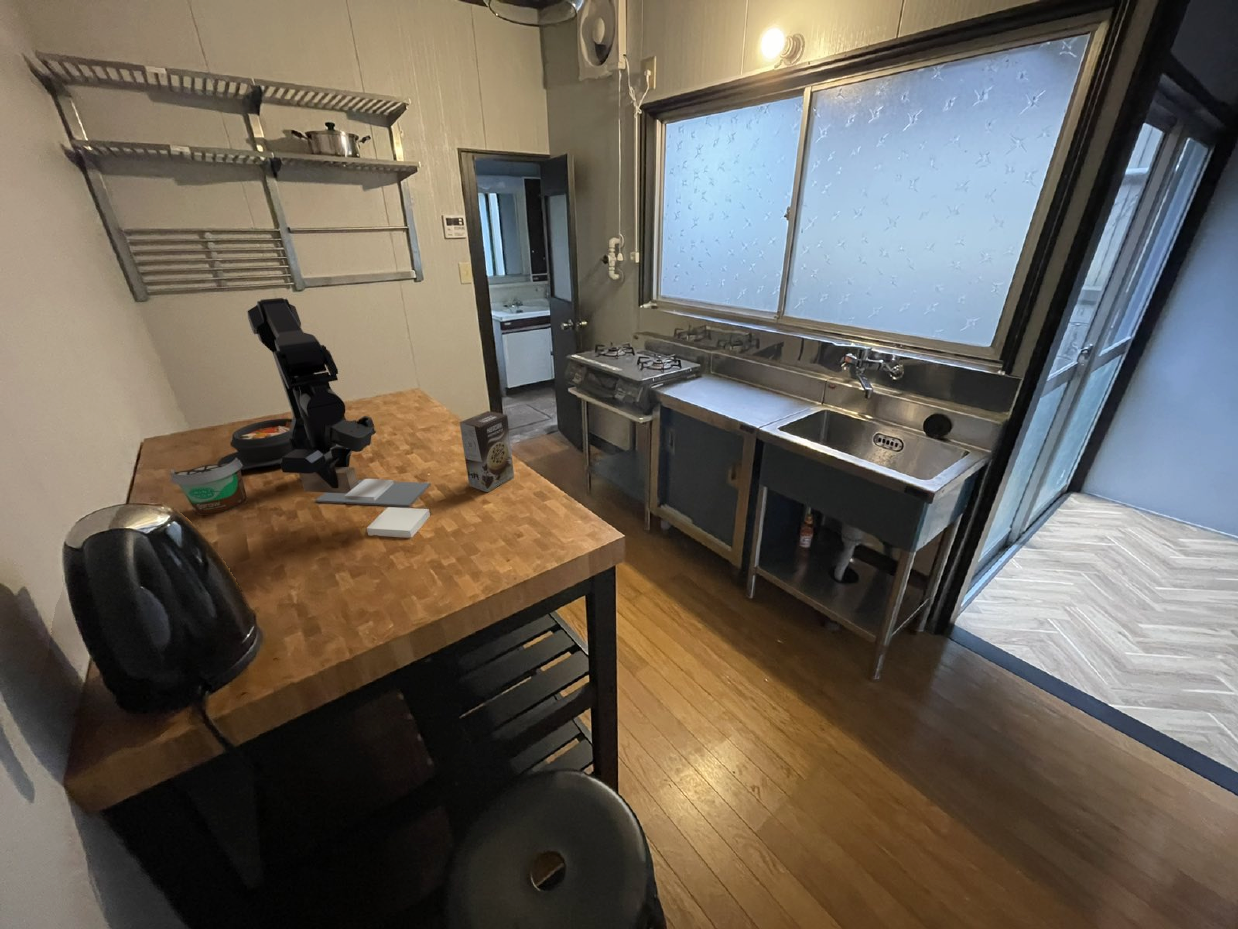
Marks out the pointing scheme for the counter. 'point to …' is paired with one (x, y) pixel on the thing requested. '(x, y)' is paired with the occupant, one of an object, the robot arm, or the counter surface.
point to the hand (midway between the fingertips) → (340, 484)
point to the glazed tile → (398, 522)
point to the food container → (212, 487)
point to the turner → (347, 485)
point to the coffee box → (487, 450)
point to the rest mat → (384, 495)
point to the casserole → (260, 444)
